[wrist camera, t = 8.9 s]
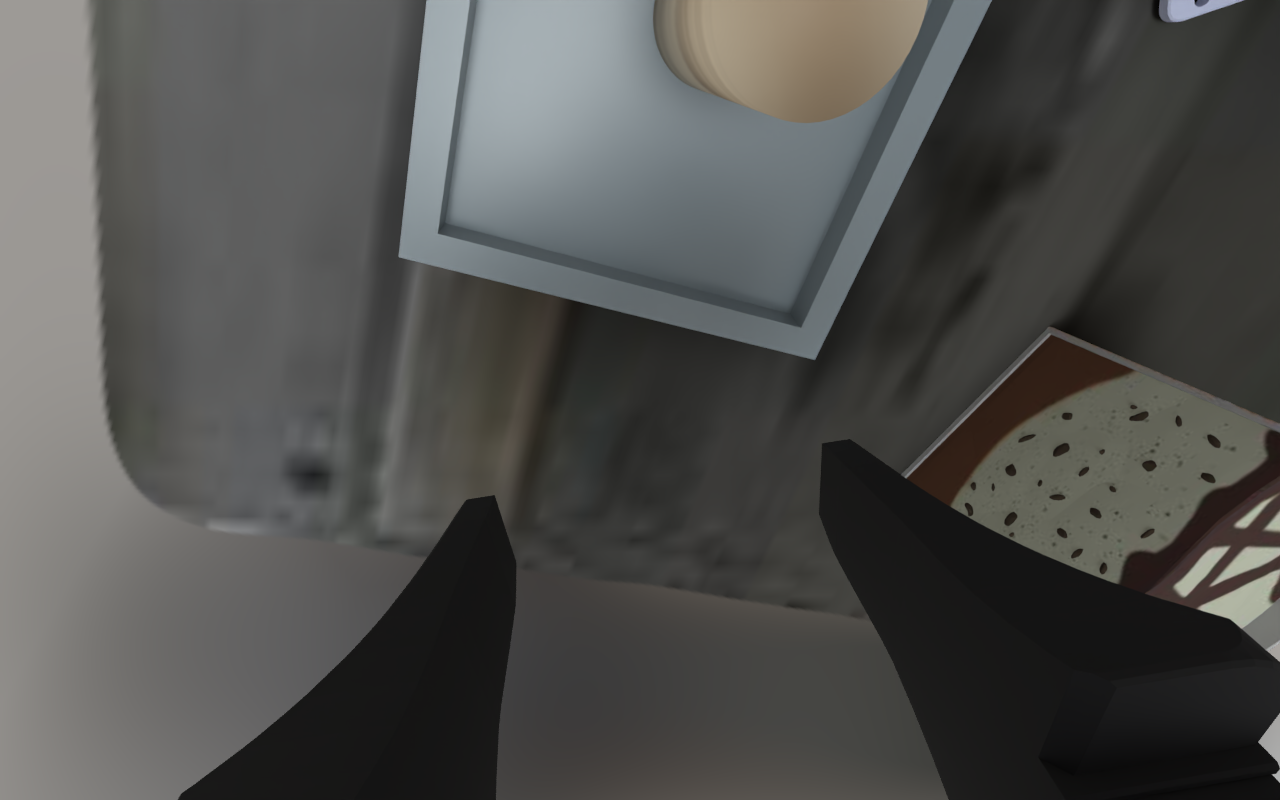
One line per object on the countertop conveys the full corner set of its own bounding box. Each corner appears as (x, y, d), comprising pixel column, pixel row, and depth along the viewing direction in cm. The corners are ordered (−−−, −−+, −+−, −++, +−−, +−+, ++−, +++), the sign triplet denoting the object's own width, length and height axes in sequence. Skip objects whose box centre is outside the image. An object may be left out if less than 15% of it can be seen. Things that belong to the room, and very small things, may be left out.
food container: (950, 557, 30) (1101, 765, 21) (861, 513, 28) (990, 725, 19) (1167, 365, 25) (1475, 533, 17) (1080, 294, 23) (1383, 446, 14)
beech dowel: (761, -90, 15) (913, -194, 9) (795, 58, 17) (944, 70, 10) (632, -26, 16) (681, -78, 9) (679, 112, 18) (749, 156, 11)
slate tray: (1014, -123, 16) (1061, -141, 15) (798, 338, 23) (814, 359, 21) (486, -386, 13) (475, -444, 11) (412, 239, 19) (398, 256, 18)
